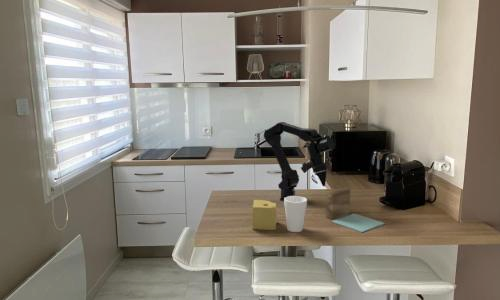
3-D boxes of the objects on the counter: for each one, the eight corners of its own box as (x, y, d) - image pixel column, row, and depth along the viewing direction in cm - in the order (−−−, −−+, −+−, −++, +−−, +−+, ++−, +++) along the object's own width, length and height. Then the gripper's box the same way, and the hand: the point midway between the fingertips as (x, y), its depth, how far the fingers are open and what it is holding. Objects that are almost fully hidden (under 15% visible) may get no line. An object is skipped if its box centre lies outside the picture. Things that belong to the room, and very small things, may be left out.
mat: (331, 221, 174) (331, 220, 174) (354, 214, 184) (354, 213, 183) (362, 232, 161) (362, 231, 161) (384, 223, 171) (384, 223, 171)
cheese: (277, 222, 174) (277, 200, 172) (276, 231, 163) (276, 207, 162) (253, 221, 175) (253, 199, 173) (251, 230, 164) (251, 207, 163)
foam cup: (292, 235, 159) (293, 204, 156) (279, 227, 166) (279, 198, 164) (310, 230, 164) (311, 200, 161) (296, 223, 171) (297, 194, 169)
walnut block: (326, 218, 179) (326, 192, 177) (343, 212, 186) (344, 188, 184) (332, 220, 176) (333, 194, 174) (349, 214, 183) (350, 189, 181)
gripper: (299, 159, 200) (307, 189, 199) (298, 158, 182) (307, 191, 180) (321, 153, 199) (329, 184, 197) (322, 151, 180) (331, 185, 179)
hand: (324, 186), depth 189 cm, fingers closed
